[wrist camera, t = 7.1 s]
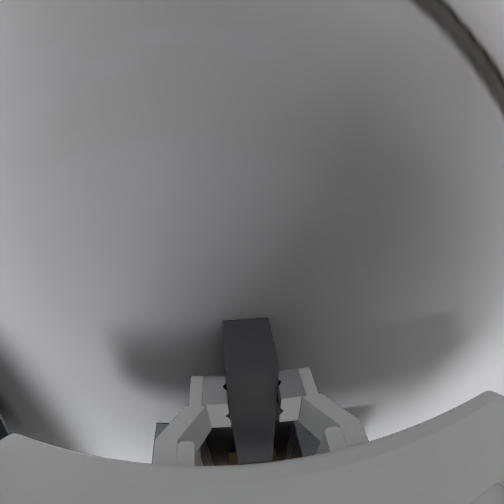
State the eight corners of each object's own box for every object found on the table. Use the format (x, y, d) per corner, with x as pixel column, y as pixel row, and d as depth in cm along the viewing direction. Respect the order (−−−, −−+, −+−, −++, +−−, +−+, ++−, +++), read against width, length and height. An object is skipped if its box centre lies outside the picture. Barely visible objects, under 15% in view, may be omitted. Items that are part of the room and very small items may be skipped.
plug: (204, 321, 12) (201, 379, 9) (285, 316, 13) (302, 370, 10) (232, 471, 20) (235, 502, 17) (273, 467, 20) (278, 498, 17)
